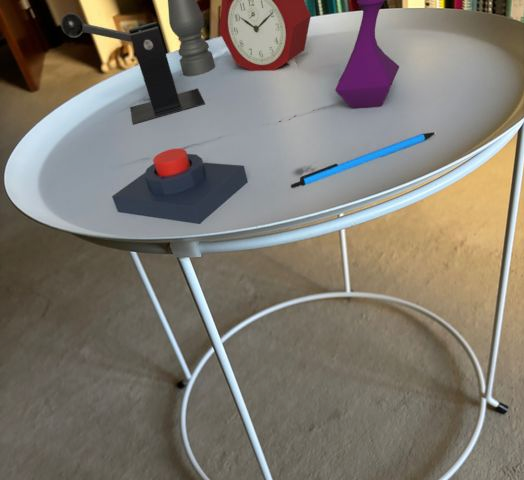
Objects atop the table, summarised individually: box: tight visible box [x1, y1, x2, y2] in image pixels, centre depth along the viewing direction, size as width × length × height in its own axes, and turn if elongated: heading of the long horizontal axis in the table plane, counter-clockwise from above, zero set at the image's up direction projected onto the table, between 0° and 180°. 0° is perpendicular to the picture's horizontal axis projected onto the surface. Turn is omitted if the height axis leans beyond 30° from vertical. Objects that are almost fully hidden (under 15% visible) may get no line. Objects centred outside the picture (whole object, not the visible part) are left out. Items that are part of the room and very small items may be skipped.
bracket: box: [128, 21, 206, 126], centre depth 94 cm, size 12×9×13 cm
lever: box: [60, 12, 143, 43], centre depth 89 cm, size 14×3×3 cm, turn 102°
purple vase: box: [334, 0, 400, 109], centre depth 78 cm, size 8×8×18 cm
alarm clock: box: [218, 0, 312, 72], centre depth 98 cm, size 15×9×20 cm, turn 58°
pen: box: [290, 132, 436, 189], centre depth 69 cm, size 1×19×1 cm, turn 112°
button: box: [152, 148, 190, 176], centre depth 69 cm, size 4×4×2 cm
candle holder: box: [167, 0, 216, 77], centre depth 103 cm, size 6×6×25 cm
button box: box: [111, 153, 249, 225], centre depth 71 cm, size 13×10×4 cm
